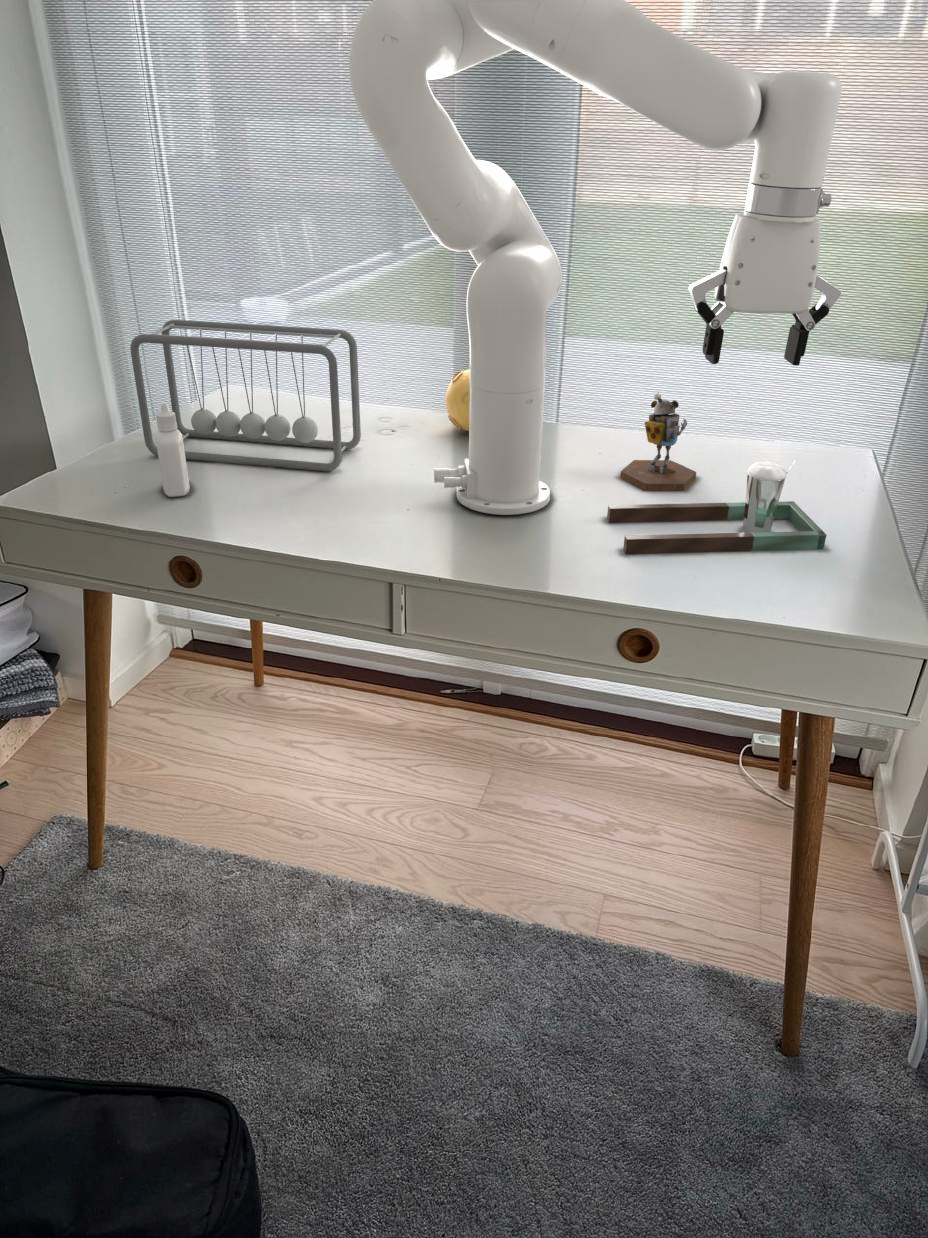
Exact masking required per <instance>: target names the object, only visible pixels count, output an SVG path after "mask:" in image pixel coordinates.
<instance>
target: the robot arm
mask: <svg viewBox="0 0 928 1238" xmlns="http://www.w3.org/2000/svg"><path fill="white" fill-rule="evenodd" d="M513 50H515V51H518V52H520V53H522V54H523V55H526V56H528V57H530V58H532V59H534V60H536V61H538V62H539V63H542V64H543V65H545V66H547V67H549V68H551V69H553V70H555V71H556V72H558V73H560V74H562V75H563V76H565V77H567V78H569V79H571V80H573V81H574V82H576V83H578V84H580V85H582V86H584V87H586V88H588V90H591V91H593V92H594V93H595V94H597V95H599V96H602V97H605V98H606V99H609V100H612V101H614V102H617V103H618V104H621V105H622V106H624V107H626V108H627V109H629V110H631V111H633V112H635V113H636V114H638V115H640V116H642V117H643V118H646V119H647V120H650V121H651V122H653V123H655V124H657V125H659V126H660V127H662V128H664V129H667V130H668V131H670V132H672V133H674V134H676V135H677V136H680V137H681V138H683V139H685V140H687V141H689V142H691V143H692V144H694V145H696V146H699V147H701V148H703V149H706V150H710V151H725V150H728V149H732V148H734V147H735V146H737V145H746V144H748V145H749V144H755V147H754V153H753V159H752V165H751V170H750V177H749V183H748V187H747V194H746V201H745V205H744V210H743V213H736V214H735V216H734V218H733V221H732V224H731V226H730V230H729V232H728V236H727V239H726V242H725V246H724V249H723V253H722V256H721V260H720V265H719V268H718V270H717V271H716V272H713V273H712V274H710V275H707V276H705V277H703V278H701V279H700V280H697V281H695V282H693V283H691V284H690V285H689V286H688V292H689V295H690V298H691V300H692V303H693V306H694V307H693V308H694V310H695V311H696V312H697V314H698V315H699V317H700V318H701V319H702V321H703V322H704V323H705V324H706V326H705V331H704V337H703V344H702V354H703V355H704V359H706V360H707V361H708V362H709V363H710V364H711V365H717V364H719V362H720V357H721V351H722V346H723V341H724V333H725V330H724V329H723V328H722V325H723V324H724V323H725V322H726V321H727V320H728V319H729V318H730V317H731V316H732V315H733V314H734V313H743V314H783V315H784V314H785V315H790V314H791V316H792V318H793V320H794V324H791V326H790V327H789V331H788V336H787V340H786V344H785V345H786V346H785V350H784V355H783V358H784V360H785V361H786V362H788V363H789V364H791V365H792V366H796V367H798V366H800V364H801V359H802V357H804V356H805V353H806V349H807V345H808V340H809V336H810V332H811V331H813V330H815V328H816V325H817V324H818V323H819V322H821V321H822V320H823V319H824V318H826V317H827V316H828V315H829V313H830V309H831V308H833V307H834V305H835V304H836V302H837V301H838V300H839V298H840V297H841V294H842V291H841V290H840V289H839V288H838V287H836V286H835V285H833V284H832V283H830V282H828V281H827V280H825V279H824V278H822V276H819V275H818V268H819V260H820V250H821V219H819V218H817V217H816V215H818V214H819V211H820V209H822V208H824V207H825V208H828V207H830V205H831V203H832V194H831V193H825V192H824V187H823V183H824V178H825V173H826V169H827V164H828V158H829V155H830V149H831V145H832V141H833V140H832V139H833V136H834V131H835V126H836V120H837V116H838V111H839V106H840V101H841V98H842V97H841V96H842V90H843V89H842V83H841V80H840V78H839V77H838V76H836V75H834V74H831V73H826V72H815V71H814V72H813V71H782V72H778V73H766V72H760V71H754V70H749V69H745V68H742V67H740V66H738V65H735V64H732V63H730V62H729V61H727V60H725V59H723V58H721V57H719V56H717V55H715V54H713V53H711V52H709V51H707V50H705V49H704V48H701V47H700V46H697V45H696V44H694V43H692V42H690V41H688V40H686V39H685V38H683V37H681V36H679V35H677V34H675V33H674V32H671V31H670V30H668V29H666V28H665V27H663V26H661V25H659V24H658V23H657V22H656V21H655V22H654V21H653V20H652V19H651V18H650V17H648V16H647V15H645V14H644V12H642V11H641V10H640V9H638V8H637V7H636V6H634V5H632V4H631V3H629V2H628V1H626V0H372V1H371V2H370V3H369V4H368V5H367V6H366V8H365V9H364V11H363V12H362V13H361V16H360V18H359V20H358V22H357V24H356V27H355V30H354V32H353V36H352V39H351V44H350V52H349V65H348V66H349V79H350V85H351V90H352V94H353V97H354V101H355V103H356V106H357V109H358V111H359V113H360V115H361V118H362V119H363V121H364V123H365V125H366V127H367V129H368V130H369V132H370V134H371V135H372V137H373V138H374V140H375V142H376V143H377V145H378V147H379V148H380V150H381V151H382V152H383V155H384V156H385V158H386V159H387V161H388V163H389V165H390V166H391V168H392V169H393V171H394V173H395V175H396V177H397V179H398V180H399V182H400V184H401V185H402V187H403V188H404V190H405V192H406V193H407V195H408V196H409V198H410V200H411V201H412V204H413V205H414V206H415V208H416V210H417V212H418V213H419V214H420V216H421V218H422V220H423V221H424V223H425V225H426V227H427V228H428V230H429V232H430V233H431V234H432V236H433V238H434V239H435V240H436V241H437V242H438V243H439V244H440V245H441V246H442V247H444V248H446V249H447V250H450V251H453V252H459V253H462V252H463V253H465V252H468V253H469V254H470V256H471V257H472V259H473V261H474V263H476V265H477V267H476V268H475V270H474V271H473V273H472V275H471V278H470V280H469V282H468V287H467V291H466V293H467V294H466V319H467V329H468V330H467V331H468V340H469V341H468V343H469V369H470V414H469V431H468V458H465V459H464V465H457V467H456V468H447V467H437V468H436V467H434V468H433V483H436V484H439V483H443V488H456V499H457V501H458V502H459V503H460V504H461V505H463V506H464V507H466V508H468V509H470V510H472V511H475V512H479V513H483V514H487V515H488V514H489V515H495V516H497V515H498V516H516V515H517V516H518V515H524V514H529V513H534V512H536V511H539V510H540V509H543V508H544V507H545V506H548V503H549V502H550V500H551V489H550V487H549V486H548V485H547V484H546V483H545V482H543V481H541V480H540V479H541V478H540V477H541V462H542V461H541V460H542V444H543V442H542V441H543V427H544V426H543V425H544V408H545V407H544V406H545V405H544V404H545V388H546V384H545V382H546V365H547V363H546V362H547V340H546V339H547V338H546V337H547V335H546V331H547V330H546V329H547V328H546V327H547V326H546V325H547V324H546V323H547V311H548V310H549V308H550V307H551V306H552V305H553V304H554V303H555V301H556V300H557V299H558V296H559V294H560V292H561V289H562V284H563V270H562V269H563V268H562V266H561V262H560V259H559V257H558V255H557V253H556V250H555V249H554V247H553V245H552V243H551V242H550V240H549V238H548V236H547V235H546V233H545V232H544V230H543V228H542V227H541V224H540V223H539V221H538V220H537V218H536V216H535V214H534V212H533V211H532V210H531V208H530V206H529V204H528V202H527V200H526V199H525V197H524V196H523V194H522V193H521V191H520V189H519V187H518V186H517V184H516V182H514V180H513V179H512V178H511V177H510V176H509V174H508V173H507V171H505V170H504V169H503V168H501V167H500V166H499V165H497V164H496V163H493V162H491V161H487V160H483V159H476V158H475V157H474V155H473V153H471V151H470V149H469V147H468V146H467V145H466V143H465V141H464V140H463V138H462V137H461V134H460V132H459V131H458V130H457V127H456V125H455V123H454V121H453V120H452V119H451V117H450V116H449V114H448V111H446V110H445V108H444V107H443V106H442V104H441V103H440V102H439V100H438V99H437V98H436V97H435V95H434V93H433V91H432V89H431V86H430V84H429V81H432V80H438V79H443V78H447V77H450V76H452V75H455V74H457V73H459V72H462V71H464V70H467V69H470V68H472V67H474V66H477V65H478V64H481V63H484V62H486V61H488V60H491V59H494V58H497V57H499V56H502V55H504V54H506V53H509V52H511V51H513ZM712 290H714V299H715V301H716V303H714V305H713V306H712V307H710V305H709V304H708V302H707V297H706V294H707V293H708V292H710V291H712ZM815 290H816V291H818V292H820V294H821V297H820V299H819V301H818V302H817V303H816V304H814V305H813V306H812V307H811V308H810V306H811V303H812V300H813V296H814V293H815ZM809 308H810V309H809Z"/></svg>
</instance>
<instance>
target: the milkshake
mask: <svg viewBox="0 0 928 1238" xmlns="http://www.w3.org/2000/svg"><path fill="white" fill-rule="evenodd" d="M796 462H797V458H795V459H794V461H793V462H792V464H791V465H790V467H789V468H787V471H786V469H785V468H784V467H783V465H780V464H777V463H775V462H773V461H756V462H753V463H752V464H751V465H750V466H749V467H748V469H747V476H746V489H745V490H746V491H745V501H744V502H745V511H744V520H743V523H742V525H743V526H742V533H749V532H751V533H753V532H772V531H771V530H772V526H773V523H774V521H775V519H774V516H775V512H776V509H777V505H778V502H780V497H781V494H782V491H783V488H784V486H785V485H784V484H785V481H786V478H787V474H788V473H789V472H790V470H791V469H792V467H793V466H794V465H795V463H796Z"/></svg>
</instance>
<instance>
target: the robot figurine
mask: <svg viewBox="0 0 928 1238" xmlns="http://www.w3.org/2000/svg"><path fill="white" fill-rule="evenodd" d="M653 399H654V400H653V401H652V402H651V404H650V408H653V413H652V414H649V415H648V420H647V421H645V422H644V427H645V433H646V439H647V442H648V443H651V444H653V445H656V451H657V454H656V455H655V457H654V458H653V459H633V460H632V461H631V462H630V463H629V464H628V465H626V466H625V467H624V468H623V469H622V470H621V471H620V477H619V478H620V479H622V480H623V481H625V482H627V483H629V484H632V485H633V486H636V487H637V488H640V489H642V490H643V491H677V492H678V491H680V492H681V491H685V490H686V489H687V488H688V487H689V486H690V485H691V484H692V483H693V482H694V481H695V479H696V477H697V471H695V470H693V469H691V468H688V467H687V466H684V465H683V464H680V463H678V462H675V461H674V460H670V458H671V457H670V450H671V448H672V446H675V445H676V443H677V441H678V437H679V436H681V435H682V433H683V431H684V430H685V429H686V428H687V426H688V421H687V419H685V418H683V422H680V415H679V414H678V413H676V409H678V408H679V405H680V404H679V402H678V401H677V400H672V401H670V400H668V399H662V394H661V392H655V393H653ZM679 423H680V424H679ZM663 447H665V451H666V455H665V456H664V459H661V458H662V455H661V450H662V448H663Z"/></svg>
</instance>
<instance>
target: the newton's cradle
mask: <svg viewBox="0 0 928 1238" xmlns="http://www.w3.org/2000/svg"><path fill="white" fill-rule="evenodd" d="M172 329H177V330H179V329H181V330H194V332H191V333H190V334H188V335H174V334H170V332H171V330H172ZM202 331H210V332H211V331H212V332H214V331H215V332H220V333H218V334H217V335H215V336H213V337H207V336H206V337H205V336H202ZM197 332H199V336H192V335H193V334H195V333H197ZM227 332H228V333H241V334H242V333H245V335H243V336H242V337H240V338H238V339H237V338H227ZM221 334H224V338H222V337H221V338H220V337H218V336H220V335H221ZM252 334H261V335H272V336H270V337H269V338H266V339H265V340H254V339H252ZM248 335H249V338H250V339H244V337H246V336H248ZM274 336H275V341H271V340H270V339H271V338H273V337H274ZM278 336H293V337H297V338H295V339H294V340H293V341H291V342H285V341H278ZM304 337H307V338H308V337H309V338H326V339H329V340H328V341H326V342H325V343H323V344H315V343H304V341H303V338H304ZM298 339H300V340H301V343H300V342H295V341H297V340H298ZM337 339H343V340H345V341H346V343H347V344H348V353H349V370H350V371H349V372H350V391H351V393H350V394H351V417H352V434H353V435H352V439H351V440H349V441H342V431H341V430H342V429H341V413H340V392H339V375H338V373H339V371H338V360H337V357H336V355H335V353H334V352H333V351H332V350H331V349H330V348H328V346H329V345H330V344H331V343H333V342H335V340H337ZM143 343H144V344H157V345H158V344H161V345H162V349H163V356H164V364H165V369H166V370H165V371H166V376H167V383H168V391H169V398H170V406H171V411H172V412H174V413H175V415H176V422H177V429H178V430H179V431H180V432H181V434H182V437H183V440H185V439H186V438H188V437H189V438H198V439H199V438H200V439H211V440H222V441H223V440H224V441H235V442H248V443H260V444H274V445H285V446H297V447H298V446H299V447H311V448H323V449H332V450H333V457H332V459H330V460H329V462H327V463H326V462H315V461H307V460H306V461H304V460H294V459H293V460H291V459H282V458H281V459H280V458H271V457H270V458H268V457H257V456H245V455H234V454H233V455H232V454H220V453H209V452H196V451H186V450H185V457H186V460H190V461H203V462H213V463H214V462H215V463H226V464H236V465H249V466H262V467H272V468H283V469H297V470H309V471H318V472H319V471H321V472H332V471H334V470H336V469H338V468H339V467H340V465H341V463H342V460H343V459H342V458H343V452H344V451H345V450H352V449H354V448H356V447H357V446H358V445H359V444H360V441H361V437H362V431H361V429H362V428H361V407H360V406H361V405H360V384H359V383H360V382H359V361H358V359H359V357H358V344H357V341H356V339H355V337H354V336H353V335H352V334H351V333H350V332H349V331H347V330H344V329H338V328H337V329H335V328H320V327H317V328H316V327H302V326H301V327H300V326H285V325H272V324H271V325H269V324H252V323H237V322H236V323H234V322H221V321H219V322H217V321H202V320H201V321H200V320H186V319H185V320H184V319H170V320H168V321H166V322H164V324H163V326H162V328H159V329H158V330H155V331H153V332H151V333H150V334H146V333H144V334H143V333H142V334H138V335H136V336H134V337H133V339H132V340H131V342H130V345H129V346H130V347H129V349H130V350H129V352H130V357H131V363H132V369H133V370H132V371H133V376H134V382H135V387H136V388H135V389H136V396H137V400H138V401H137V402H138V408H139V413H140V420H141V426H142V432H143V439H144V443H145V447H146V448H147V449H148V451H149V452H150V453H151V454H152V455H154V456H156V457H158V451H157V445H156V444H155V443H154V440H153V433H152V428H151V421H150V413H149V408H148V400H147V396H146V394H147V393H146V388H145V381H144V375H143V370H142V369H143V368H142V363H141V362H142V361H141V355H140V346H141V345H142V344H143ZM172 345H174V346H186V349H187V353H188V357H189V362H190V367H191V371H192V376H193V380H194V384H195V389H196V393H197V398H198V403H199V407H200V409H198V410H196V411H194V413H193V414H192V416H191V419H190V424H191V427H192V429H189V428H187V427H185V426H184V424H183V422H182V417H181V409H180V402H179V395H178V394H179V393H178V387H177V381H176V373H175V366H174V365H175V364H174V359H173V351H172ZM189 347H200V364H201V388H202V389H201V391H202V403H201V397H200V394H199V390H198V384H197V380H196V376H195V372H194V367H193V363H192V358H191V354H190V349H189ZM203 347H205V348H206V347H207V348H212V354H213V357H214V363H215V368H216V372H217V377H218V382H219V383H218V384H219V387H220V393H221V398H222V402H223V406H224V407H223V408H224V411H222V412H220V413H219V414H218V415H217V416H216V415H215V413H214V412H213V411H211V410H209V409H206V408H205V395H204V394H205V393H204V369H203V368H204V367H203ZM214 348H220V349H225V374H226V375H225V376H226V378H225V379H226V402H225V397H224V391H223V388H222V382H221V378H220V373H219V367H218V363H217V359H216V353H215V349H214ZM228 349H237V351H238V355H239V361H240V367H241V372H242V378H243V382H244V389H245V393H246V399H247V404H248V410H249V413H246V414H244V415H243V416H242V418H241V417H240V416H239V415H238V414H237V413H236V412H234V411H231V410H229V382H228V353H227V352H228V351H227V350H228ZM240 350H250V380H251V381H250V383H251V384H250V385H251V386H250V387H251V404H250V399H249V394H248V387H247V384H246V378H245V373H244V367H243V362H242V361H243V360H242V356H241V351H240ZM253 351H264V357H265V358H264V359H265V364H266V370H267V375H268V376H267V377H268V381H269V387H270V395H271V401H272V406H273V412H274V414H272V415H271V416H269V417H268V418H266V420H265V419H264V417H263V416H262V415H260V414H259V413H257V412H254V395H253V394H254V391H253V390H254V389H253V386H254V385H253ZM266 351H268V352H275V382H276V383H275V384H276V385H275V387H276V388H275V389H276V391H275V392H276V405H275V400H274V396H273V395H274V394H273V389H272V382H271V376H270V370H269V364H268V359H267V353H266ZM278 352H281V353H282V352H283V353H284V352H285V353H290V356H291V361H292V367H293V372H294V373H293V374H294V378H295V384H296V389H297V396H298V400H299V401H298V402H299V407H300V411H301V417H298V418H296V420H295V421H294V422H293V423H292V427H291V423H290V421H289V419H287V417H285V415H281V414H279V408H278V407H279V396H278V394H279V393H278V391H279V390H278V389H279V388H278V387H279V386H278ZM293 353H298V354H301V362H302V363H301V365H302V367H301V368H302V395H303V397H302V399H303V406H302V401H301V395H300V390H299V384H298V379H297V373H296V372H297V371H296V368H295V362H294V361H295V360H294V357H293ZM304 354H313V355H314V354H315V355H322V356H323V357H325V358H326V359H327V362H328V374H329V390H330V392H329V395H330V409H331V425H332V426H331V429H332V440H327V439H326V440H325V439H317V436H318V434H319V426H318V424H317V422H316V421H315V420H314V419H313V418H311V417H309V416H306V403H305V401H306V399H305V397H306V396H305V372H304V371H305V370H304ZM240 432H241V433H240ZM290 433H292V435H293V437H289V435H290ZM264 434H266V435H264Z"/></svg>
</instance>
